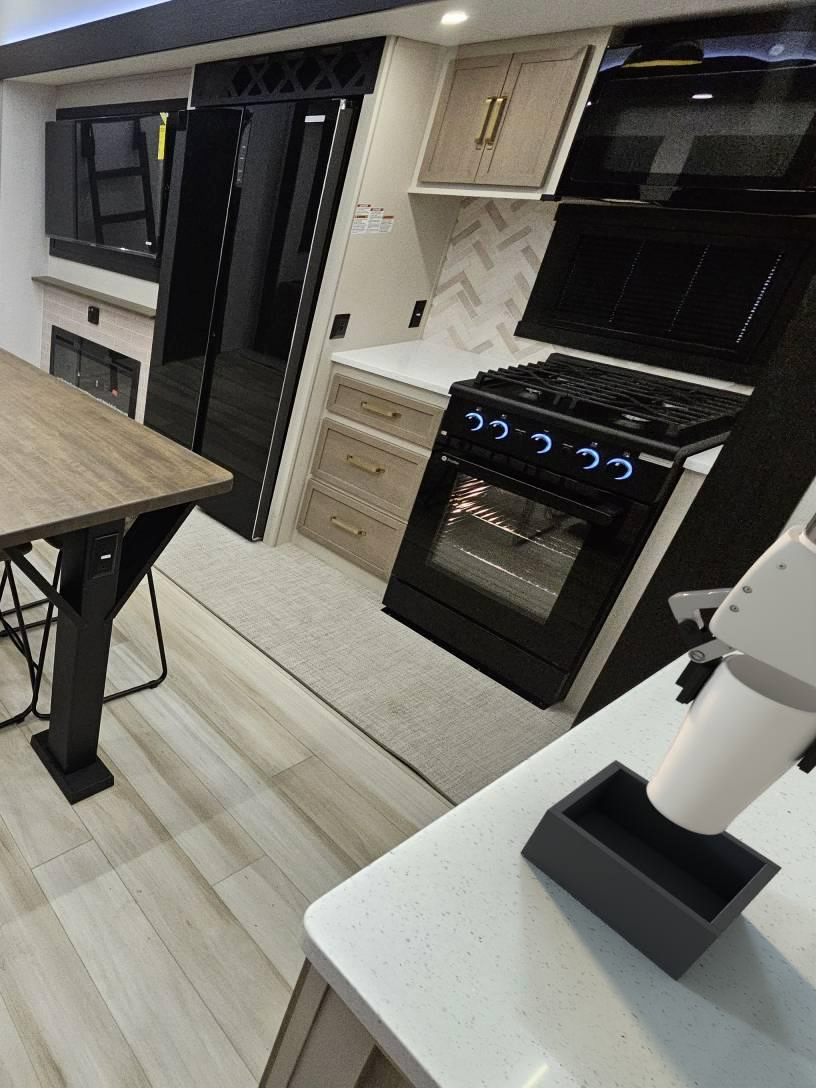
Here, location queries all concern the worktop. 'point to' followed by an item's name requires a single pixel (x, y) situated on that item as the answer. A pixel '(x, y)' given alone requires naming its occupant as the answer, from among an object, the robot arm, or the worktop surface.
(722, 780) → the white cup
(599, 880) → the bin
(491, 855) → the worktop surface
